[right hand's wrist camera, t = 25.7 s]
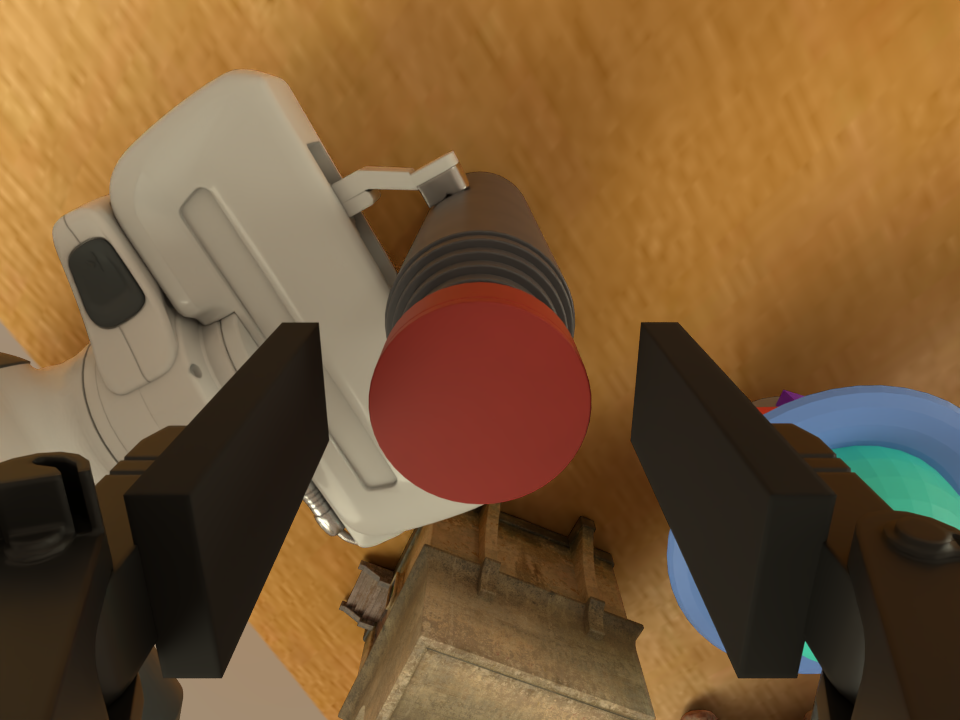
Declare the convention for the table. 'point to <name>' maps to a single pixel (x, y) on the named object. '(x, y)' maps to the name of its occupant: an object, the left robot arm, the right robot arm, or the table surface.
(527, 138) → the table surface
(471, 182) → the bottle
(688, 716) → the sculpture
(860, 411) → the toy flying saucer
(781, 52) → the table surface
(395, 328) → the cap
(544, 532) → the miniature house
